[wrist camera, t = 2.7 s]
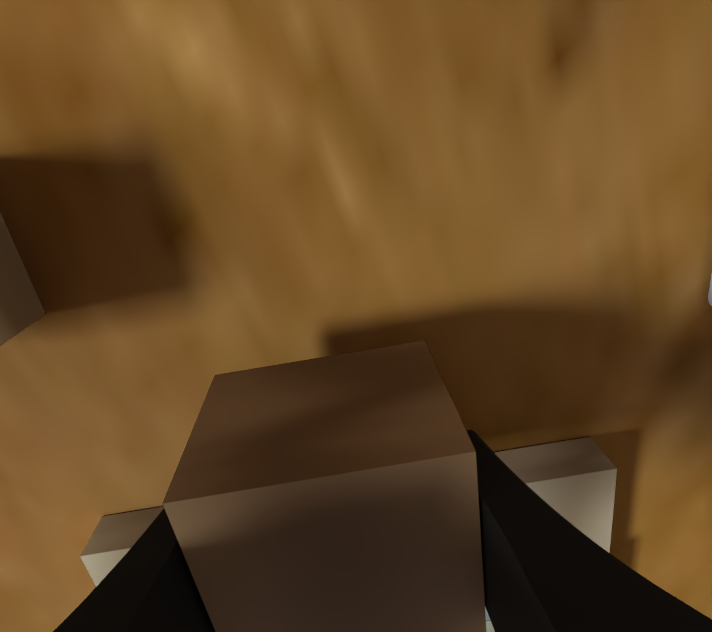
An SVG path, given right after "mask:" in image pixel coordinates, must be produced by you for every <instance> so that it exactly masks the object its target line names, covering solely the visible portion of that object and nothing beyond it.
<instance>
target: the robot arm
mask: <svg viewBox="0 0 712 632" xmlns="http://www.w3.org/2000/svg"><path fill="white" fill-rule="evenodd" d="M708 302H709V304H710V305H711V307H712V274H711V281H710V287H709V293H708ZM467 433H468V436H469V438H470V440H471V442H472V444H473V446H474V449H475V451H476V463H477V480H478V497H479V514H480V531H481V548H482V564H483V581H484V598H485V607H486V610H487V613H488V615H489V618H490V620H491V623H492V625H493V628H494V631H495V632H712V620H711V619H710V618H708V617H707V616H705V615H703V614H702V613H700V612H698V611H697V610H695V609H694V608H692V607H690V606H689V605H687V604H685V603H684V602H682V601H681V600H679V599H677V598H676V597H674V596H672V595H671V594H669V593H668V592H666V591H664V590H663V589H661V588H660V587H658V586H656V585H655V584H653V583H652V582H650V581H649V580H647V579H646V578H644V577H643V576H641V575H640V574H638V573H637V572H635V571H634V570H633V569H631V568H630V567H628V566H627V565H625V564H624V563H622V562H621V561H620V560H618V559H617V558H616V557H614V556H613V555H611V554H610V553H609V552H607V551H606V550H604V549H603V548H602V547H600V546H599V545H598V544H596V543H595V542H594V541H592V540H591V539H590V538H589V537H587V536H586V535H585V534H583V533H582V532H581V531H580V530H578V529H577V528H576V527H575V526H573V525H572V524H571V523H570V522H569V521H567V520H566V519H565V518H564V517H563V516H561V515H560V514H559V513H558V512H557V511H555V510H554V509H553V508H552V507H551V506H550V505H549V504H547V503H546V502H545V501H544V500H543V499H542V498H541V497H540V496H538V495H537V494H536V493H535V492H534V491H533V490H532V489H531V488H530V487H529V486H528V485H527V484H525V483H524V482H523V481H522V480H521V479H520V478H519V477H518V476H517V475H516V474H515V473H514V472H513V471H512V470H511V469H510V468H509V467H508V466H507V465H506V464H505V463H504V462H503V461H502V460H501V459H500V458H499V457H498V456H497V455H496V454H495V453H494V452H493V451H492V450H491V449H490V448H489V447H488V446H487V444H486V443H485V442H484V441H483V440H482V439H481V438H480V437H479V436H478V434H477V433H475V432H474V431H473V430H468V431H467ZM53 632H215V629H214V627H213V624H212V622H211V619H210V617H209V615H208V612H207V610H206V607H205V605H204V603H203V600H202V598H201V595H200V593H199V591H198V588H197V586H196V583H195V581H194V579H193V576H192V574H191V571H190V569H189V566H188V564H187V562H186V559H185V557H184V554H183V552H182V550H181V547H180V545H179V542H178V540H177V538H176V535H175V533H174V530H173V528H172V526H171V523H170V521H169V518H168V516H167V513H166V511H165V509H163V510H162V511H161V512H160V514H159V515H158V516H157V517H156V519H155V520H154V521H153V522H152V523H151V525H150V526H149V527H148V528H147V529H146V531H145V532H144V533H143V534H142V535H141V537H140V538H139V539H138V540H137V541H136V543H135V544H134V545H133V546H132V547H131V549H130V550H129V551H128V552H127V553H126V554H125V556H124V557H123V558H122V559H121V560H120V561H119V562H118V563H117V564H116V566H115V567H114V568H113V569H112V570H111V571H110V572H109V573H108V574H107V576H106V577H105V578H104V579H103V580H102V581H101V582H100V583H99V584H98V586H97V587H96V588H95V589H94V590H93V591H92V592H91V593H90V594H89V596H88V597H87V598H86V599H85V600H84V601H83V602H82V603H81V604H80V605H79V606H78V607H77V608H76V609H75V610H74V611H73V612H72V613H71V614H70V615H69V616H68V617H67V618H66V619H65V620H64V621H63V622H62V623H61V624H60V625H59V626H58V627H57V628H56V629H55V630H54V631H53Z"/></svg>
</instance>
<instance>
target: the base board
mask: <svg viewBox="0 0 712 632" xmlns="http://www.w3.org/2000/svg"><path fill="white" fill-rule="evenodd" d="M494 453H495V454H496V455H497V456H498V457H499V458H500V459H501V460H502V461H503V462H504V463H505V464H506V465H507V466H508V467H509V468H510V469H511V470H512V471H513V472H514V473H515V474H516V475H517V476H518V477H519V478H520V479H521V480H522V481H523V482H524V483H525V484H527V485H528V486H529V487H530V488H531V489H532V490H533V491H534V492H535V493H536V494H537V495H538V496H540V497H541V498H542V499H543V500H544V501H545V502H546V503H547V504H549V505H550V506H551V507H552V508H553V509H554V510H555V511H557V512H558V513H559V514H560V515H561V516H563V517H564V518H565V519H566V520H567V521H569V522H570V523H571V524H572V525H573V526H575V527H576V528H577V529H578V530H580V531H581V532H582V533H583V534H585V535H586V536H587V537H589V538H590V539H591V540H592V541H594V542H595V543H596V544H598V545H599V546H600V547H602V548H603V549H604V550H606V551H607V552H609V553H610V542H611V531H612V520H613V509H614V498H615V487H616V476H617V468H616V467H615V465H614V464H613V463H612V462H611V461H610V459H609V458H608V457H607V456H606V455H605V453H604V452H603V451H602V450H601V449H600V447H599V446H598V445H597V444H596V443H595V441H594V440H593V439H592V438H591V437H586V438H580V439H574V440H568V441H561V442H555V443H549V444H543V445H537V446H531V447H525V448H519V449H512V450H506V451H500V452H494ZM163 509H164V506H163V507H157V508H151V509H145V510H139V511H133V512H127V513H121V514H114V515H108V516H102V518H101V519H100V521H99V523H98V525H97V527H96V528H95V530H94V532H93V534H92V536H91V537H90V539H89V541H88V543H87V545H86V547H85V548H84V550H83V552H82V554H81V556H80V557H81V559H82V561H83V563H84V565H85V566H86V568H87V570H88V572H89V574H90V576H91V578H92V580H93V581H94V583H95V585H96V587H97V586H98V584H99V583H100V582H101V581H102V580H103V579H104V578H105V577H106V576H107V574H108V573H109V572H110V571H111V570H112V569H113V568H114V567H115V566H116V564H117V563H118V562H119V561H120V560H121V559H122V558H123V557H124V556H125V554H126V553H127V552H128V551H129V550H130V549H131V547H132V546H133V545H134V544H135V543H136V541H137V540H138V539H139V538H140V537H141V535H142V534H143V533H144V532H145V531H146V529H147V528H148V527H149V526H150V525H151V523H152V522H153V521H154V520H155V519H156V517H157V516H158V515H159V514H160V512H161V511H162V510H163ZM485 615H486V632H495V631H494V628H493V625H492V623H491V620H490V618H489V615H488V613H487V610H486V607H485Z"/></svg>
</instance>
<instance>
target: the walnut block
mask: <svg viewBox="0 0 712 632" xmlns="http://www.w3.org/2000/svg"><path fill="white" fill-rule="evenodd" d="M163 506H164V509H165V511H166V513H167V516H168V518H169V521H170V523H171V526H172V528H173V530H174V533H175V535H176V538H177V540H178V542H179V545H180V547H181V550H182V552H183V554H184V557H185V559H186V562H187V564H188V566H189V569H190V571H191V574H192V576H193V579H194V581H195V583H196V586H197V588H198V591H199V593H200V595H201V598H202V600H203V603H204V605H205V607H206V610H207V612H208V615H209V617H210V619H211V622H212V624H213V627H214V629H215V632H486V615H485V598H484V581H483V564H482V548H481V531H480V514H479V497H478V480H477V463H476V451H475V449H474V446H473V444H472V442H471V440H470V438H469V436H468V433H467V431H466V429H465V427H464V425H463V423H462V420H461V418H460V416H459V414H458V412H457V410H456V407H455V405H454V403H453V401H452V399H451V397H450V395H449V392H448V390H447V388H446V386H445V384H444V382H443V379H442V377H441V375H440V373H439V371H438V369H437V366H436V364H435V362H434V360H433V358H432V356H431V353H430V351H429V349H428V347H427V345H426V343H425V340H424V341H418V342H412V343H406V344H400V345H394V346H388V347H382V348H376V349H370V350H364V351H357V352H351V353H345V354H339V355H333V356H327V357H321V358H315V359H309V360H303V361H297V362H291V363H285V364H279V365H273V366H267V367H261V368H255V369H249V370H243V371H237V372H231V373H224V374H218V375H215V376H214V378H213V381H212V383H211V386H210V388H209V391H208V393H207V396H206V398H205V401H204V403H203V405H202V408H201V410H200V413H199V415H198V418H197V420H196V423H195V425H194V428H193V430H192V432H191V435H190V437H189V440H188V442H187V445H186V447H185V450H184V452H183V455H182V457H181V459H180V462H179V464H178V467H177V469H176V472H175V474H174V477H173V479H172V482H171V484H170V486H169V489H168V491H167V494H166V496H165V499H164V501H163Z"/></svg>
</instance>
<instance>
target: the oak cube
mask: <svg viewBox="0 0 712 632" xmlns="http://www.w3.org/2000/svg"><path fill="white" fill-rule="evenodd" d="M43 315H45V311H44V309H43V307H42V305H41V302H40V300H39V298H38V296H37V294H36V291H35V289H34V287H33V285H32V282H31V280H30V278H29V276H28V273H27V271H26V269H25V267H24V264H23V262H22V260H21V258H20V255H19V253H18V251H17V249H16V246H15V244H14V242H13V240H12V238H11V235H10V233H9V231H8V229H7V226H6V224H5V222H4V220H3V217H2V215H1V213H0V346H1V345H2V344H4V343H5V342H7V341H8V340H9V339H11V338H12V337H14V336H15V335H17V334H18V333H19V332H21V331H22V330H24V329H25V328H26V327H28V326H29V325H31V324H32V323H33V322H35V321H36V320H38V319H39V318H40V317H42V316H43Z"/></svg>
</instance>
